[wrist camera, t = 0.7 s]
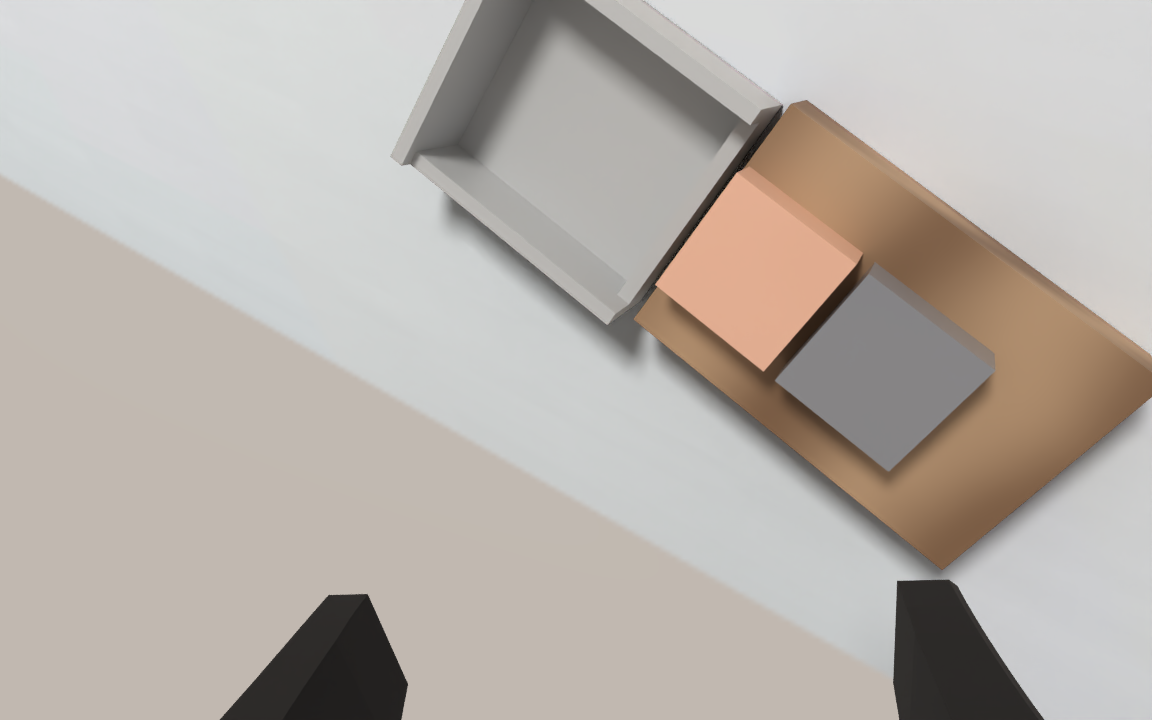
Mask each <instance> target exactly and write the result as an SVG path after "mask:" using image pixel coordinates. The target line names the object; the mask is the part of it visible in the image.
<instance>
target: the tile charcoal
mask: <svg viewBox="0 0 1152 720" xmlns="http://www.w3.org/2000/svg"><path fill="white" fill-rule="evenodd" d="M995 371H996V369H995V353H994V352H992V351H991V350H990V349H988V348H987V347H986V346H984V345H983V344H982V343H980V342H979V341H978V340H977V339H975V338H974V337H973V336H971V335H970V334H969V333H967V332H966V331H965V330H963V329H962V328H961V327H959V326H958V325H957V324H956V323H954V322H953V321H952V320H950V319H949V318H948V317H946V316H945V315H944V314H942V313H941V312H940V311H939V310H937V309H936V308H935V307H933V306H932V305H931V304H929V303H928V302H927V301H925V300H924V299H923V298H921V297H920V296H919V295H918V294H916V293H915V292H914V291H912V290H911V289H910V288H908V287H907V286H906V285H904V284H903V283H902V282H900V281H899V280H898V279H897V278H895V277H894V276H893V275H891V274H890V273H889V272H887V271H886V270H885V269H883V268H882V267H881V266H880V265H878V264H877V263H876V262H875V263H874V264H873V265H872V266H871V267H870V268H869V269H868V270H867V272H866V273H865V274H864V275H863V276H862V277H861V278H860V280H859V281H858V282H857V283H856V284H855V285H854V286H853V287H852V289H851V290H850V291H849V292H848V293H847V294H846V295H845V297H844V298H843V299H842V300H841V301H840V302H839V303H838V305H837V306H836V307H835V308H834V309H833V310H832V311H831V312H830V314H829V315H828V316H827V317H826V318H825V319H824V320H823V322H822V323H821V324H820V325H819V326H818V327H817V328H816V329H815V331H814V332H813V333H812V334H811V335H810V336H809V337H808V339H807V340H806V341H805V342H804V343H803V344H802V345H801V347H800V348H799V349H798V350H797V351H796V352H795V353H794V354H793V356H792V357H791V358H790V359H789V360H788V361H787V362H786V364H785V365H784V366H783V368H782V370H781V371H780V373H779V374H778V376H777V378H776V379H775V381H776V382H777V383H778V384H779V385H781V386H782V387H783V388H784V389H786V390H787V391H788V392H789V393H791V394H792V395H793V396H794V397H796V398H797V399H798V400H799V401H801V402H802V403H803V404H804V405H806V406H807V407H808V408H809V409H811V410H812V411H813V412H814V413H816V414H817V415H818V416H819V417H821V418H822V419H823V420H824V421H826V422H827V423H828V424H829V425H831V426H832V427H833V428H834V429H836V430H837V431H838V432H839V433H841V434H842V435H843V436H844V437H846V438H847V439H848V440H849V441H851V442H852V443H853V444H854V445H856V446H857V447H858V448H859V449H861V450H862V451H863V452H864V453H866V454H867V455H868V456H869V457H871V458H872V459H873V460H874V461H876V462H877V463H878V464H879V465H881V466H882V467H883V468H884V469H886V470H887V471H888V472H889V471H890V470H891V469H892V468H893V467H894V466H895V465H896V464H897V463H899V462H900V461H901V460H902V459H903V458H904V457H905V456H906V455H907V454H908V453H909V452H910V451H911V450H912V449H913V448H914V447H915V446H916V445H918V444H919V443H920V442H921V441H922V440H923V439H924V438H925V437H926V436H927V435H928V434H929V433H930V432H931V431H932V430H933V429H934V428H936V427H937V426H938V425H939V424H940V423H941V422H942V421H943V420H944V419H945V418H946V417H947V416H948V415H949V414H950V413H951V412H952V411H953V410H955V409H956V408H957V407H958V406H959V405H960V404H961V403H962V402H963V401H964V400H965V399H966V398H967V397H968V396H969V395H970V394H971V393H973V392H974V391H975V390H976V389H977V388H978V387H979V386H980V385H981V384H982V383H983V382H984V381H985V380H986V379H987V378H988V377H989V376H991V375H992V374H993V373H994V372H995Z"/></svg>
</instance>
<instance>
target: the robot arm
mask: <svg viewBox="0 0 1152 720" xmlns="http://www.w3.org/2000/svg"><path fill="white" fill-rule="evenodd" d="M893 684H894V690H895V696H896V702H897V708H898V714H899V720H1044V719H1043V717H1042V716H1041V715H1040V713H1039V712H1038V711H1037V709H1036V708H1035V706H1034V705H1033V704H1032V702H1031V701H1030V700H1029V698H1028V697H1027V695H1026V694H1025V692H1024V691H1023V690H1022V688H1021V687H1020V685H1019V684H1018V682H1017V681H1016V680H1015V678H1014V677H1013V675H1012V674H1011V672H1010V671H1009V669H1008V668H1007V666H1006V665H1005V663H1004V662H1003V660H1002V659H1001V657H1000V656H999V654H998V653H997V651H996V650H995V648H994V647H993V645H992V643H991V642H990V640H989V639H988V637H987V636H986V634H985V632H984V631H983V629H982V628H981V626H980V624H979V623H978V621H977V619H976V618H975V616H974V614H973V613H972V611H971V609H970V608H969V606H968V604H967V603H966V601H965V599H964V597H963V595H962V594H961V592H960V590H959V588H958V586H957V585H955V584H954V583H953V582H951V581H950V580H917V581H897V601H896V627H895V653H894V679H893ZM407 686H408V683H407V681H406V679H405V677H404V674H403V672H402V670H401V668H400V665H399V663H398V661H397V659H396V656H395V654H394V652H393V650H392V648H391V645H390V643H389V641H388V639H387V636H386V634H385V632H384V630H383V628H382V625H381V623H380V621H379V618H378V616H377V614H376V612H375V610H374V607H373V605H372V603H371V601H370V598H369V596H368V595H367V594H358V595H357V594H356V595H328V597H327V598H326V599H325V600H324V601H323V602H322V603H321V604H320V606H319V607H318V608H317V609H316V610H315V611H314V612H313V614H312V615H311V616H310V617H309V618H308V620H307V621H306V622H305V623H304V624H303V625H302V626H301V627H300V629H299V630H298V631H297V632H296V633H295V634H294V635H293V637H292V638H291V639H290V640H289V641H288V643H287V644H286V645H285V646H284V647H283V649H282V650H281V651H280V652H279V653H278V654H277V655H276V656H275V658H274V659H273V660H272V661H271V662H270V663H269V665H268V666H267V667H266V668H265V669H264V670H263V671H262V673H261V674H260V675H259V676H258V677H257V678H256V680H255V681H254V682H253V683H252V684H251V685H250V686H249V687H248V689H247V690H246V691H245V692H244V693H243V694H242V696H240V698H239V699H238V700H237V701H236V702H235V703H234V704H233V706H232V707H231V708H230V709H229V710H228V711H227V712H226V713H225V714H224V716H223V717H222V718H221V719H220V720H401V718H402V713H403V707H404V702H405V697H406V692H407Z"/></svg>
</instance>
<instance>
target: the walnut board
mask: <svg viewBox="0 0 1152 720" xmlns="http://www.w3.org/2000/svg"><path fill="white" fill-rule="evenodd" d="M749 166H750V167H751V168H752V169H754V170H755V171H756V172H758V173H759V174H760V175H761V176H763V177H764V178H765V179H767V180H768V181H769V182H771V183H772V184H773V185H775V186H776V187H777V188H779V189H780V190H781V191H782V192H784V193H785V194H786V195H788V196H789V197H790V198H792V199H793V200H794V201H796V202H797V203H798V204H800V205H801V206H802V207H803V208H805V209H806V210H807V211H809V212H810V213H811V214H813V215H814V216H815V217H817V218H818V219H819V220H820V221H822V222H823V223H824V224H826V225H827V226H828V227H830V228H831V229H832V230H834V231H835V232H836V233H838V234H839V235H840V236H841V237H843V238H844V239H845V240H847V241H848V242H849V243H851V244H852V245H853V246H855V247H856V248H857V249H859V250H860V251H861V252H862V253H863V254H862V256H861V258H860V260H859V261H858V263H857V265H856V266H855V267H854V268H853V269H852V270H851V272H850V273H849V274H848V275H847V276H846V277H845V278H844V280H843V281H842V282H841V283H840V284H839V285H838V287H837V288H836V289H835V290H834V291H833V292H832V293H831V295H830V296H829V297H828V298H827V299H826V300H825V301H824V303H823V304H822V305H821V306H820V307H819V308H818V310H817V311H816V312H815V313H814V314H813V315H812V316H811V318H810V319H809V320H808V321H807V322H806V323H805V325H804V326H803V327H802V328H801V329H800V330H799V331H798V333H797V334H796V335H795V336H794V337H793V338H792V339H791V341H790V342H789V343H788V344H787V345H786V346H785V348H784V349H783V350H782V351H781V352H780V353H779V354H778V356H777V357H776V358H775V359H774V360H773V361H772V362H771V364H770V365H769V366H768V367H767V368H766V369H765V371H764V372H763V371H762V370H761V369H760V368H758V367H757V366H756V365H755V364H753V363H752V362H751V361H750V360H748V359H747V358H746V357H745V356H743V355H742V354H741V353H740V352H738V351H737V350H736V349H735V348H733V347H732V346H731V345H730V344H728V343H727V342H726V341H725V340H723V339H722V338H721V337H720V336H718V335H717V334H716V333H715V332H713V331H712V330H711V329H710V328H708V327H707V326H706V325H705V324H703V323H702V322H701V321H700V320H698V319H697V318H696V317H695V316H693V315H692V314H691V313H690V312H688V311H687V310H686V309H685V308H683V307H682V306H681V305H680V304H678V303H677V302H676V301H675V300H673V299H672V298H671V297H670V296H668V295H667V294H666V293H665V292H663V291H662V290H661V289H660V288H658V287H657V288H656V289H655V291H654V292H653V293H652V295H651V296H650V297H649V299H648V300H647V301H646V303H645V304H644V306H643V307H642V308H641V310H640V311H639V312H638V314H637V315H636V317H635V318H634V320H635V321H636V322H637V323H638V324H640V325H641V326H642V327H643V328H645V329H646V330H647V331H648V332H650V333H651V334H652V335H653V336H654V337H656V338H657V339H658V340H659V341H661V342H662V343H663V344H664V345H666V346H667V347H668V348H669V349H670V350H672V351H673V352H674V353H675V354H677V355H678V356H679V357H680V358H682V359H683V360H684V361H685V362H686V363H688V364H689V365H690V366H691V367H693V368H694V369H695V370H696V371H698V372H699V373H700V374H701V375H703V376H704V377H705V378H706V379H707V380H709V381H710V382H711V383H712V384H714V385H715V386H716V387H717V388H719V389H720V390H721V391H722V392H723V393H725V394H726V395H727V396H728V397H730V398H731V399H732V400H733V401H735V402H736V403H737V404H738V405H739V406H741V407H742V408H743V409H744V410H746V411H747V412H748V413H749V414H751V415H752V416H753V417H754V418H755V419H757V420H758V421H759V422H760V423H762V424H763V425H764V426H765V427H767V428H768V429H769V430H770V431H771V432H773V433H774V434H775V435H776V436H778V437H779V438H780V439H781V440H783V441H784V442H785V443H786V444H787V445H789V446H790V447H791V448H792V449H794V450H795V451H796V452H797V453H799V454H800V455H801V456H802V457H803V458H805V459H806V460H807V461H808V462H810V463H811V464H812V465H813V466H815V467H816V468H817V469H818V470H819V471H821V472H822V473H823V474H824V475H826V476H827V477H828V478H829V479H831V480H832V481H833V482H834V483H835V484H837V485H838V486H839V487H840V488H842V489H843V490H844V491H845V492H847V493H848V494H849V495H850V496H851V497H853V498H854V499H855V500H856V501H858V502H859V503H860V504H861V505H863V506H864V507H865V508H866V509H867V510H869V511H870V512H871V513H872V514H874V515H875V516H876V517H877V518H879V519H880V520H881V521H882V522H883V523H885V524H886V525H887V526H888V527H890V528H891V529H892V530H893V531H895V532H896V533H897V534H898V535H899V536H901V537H902V538H903V539H904V540H906V541H907V542H908V543H909V544H911V545H912V546H913V547H914V548H915V549H917V550H918V551H919V552H920V553H922V554H923V555H924V556H925V557H927V558H928V559H929V560H930V561H931V562H933V563H934V564H935V565H936V566H938V567H939V568H940V569H941V570H943V569H944V568H945V567H946V566H948V565H949V564H950V563H951V562H953V561H954V560H955V559H956V558H957V557H959V556H960V555H961V554H962V553H963V552H965V551H966V550H967V549H968V548H969V547H971V546H972V545H973V544H974V543H976V542H977V541H978V540H979V539H980V538H982V537H983V536H984V535H985V534H986V533H988V532H989V531H990V530H991V529H992V528H994V527H995V526H996V525H997V524H999V523H1000V522H1001V521H1002V520H1003V519H1005V518H1006V517H1007V516H1008V515H1009V514H1011V513H1012V512H1013V511H1014V510H1015V509H1017V508H1018V507H1019V506H1020V505H1022V504H1023V503H1024V502H1025V501H1026V500H1028V499H1029V498H1030V497H1031V496H1032V495H1034V494H1035V493H1036V492H1037V491H1038V490H1040V489H1041V488H1042V487H1043V486H1045V485H1046V484H1047V483H1048V482H1049V481H1051V480H1052V479H1053V478H1054V477H1055V476H1057V475H1058V474H1059V473H1060V472H1061V471H1063V470H1064V469H1065V468H1066V467H1068V466H1069V465H1070V464H1071V463H1072V462H1074V461H1075V460H1076V459H1077V458H1078V457H1080V456H1081V455H1082V454H1083V453H1084V452H1086V451H1087V450H1088V449H1089V448H1091V447H1092V446H1093V445H1094V444H1095V443H1097V442H1098V441H1099V440H1100V439H1101V438H1103V437H1104V436H1105V435H1106V434H1108V433H1109V432H1110V431H1111V430H1112V429H1114V428H1115V427H1116V426H1117V425H1118V424H1120V423H1121V422H1122V421H1123V420H1124V419H1126V418H1127V417H1128V416H1129V415H1131V414H1132V413H1133V412H1134V411H1135V410H1137V409H1138V408H1139V407H1140V406H1141V405H1143V404H1144V403H1145V402H1146V401H1147V400H1149V399H1150V398H1151V397H1152V357H1151V355H1150V354H1149V353H1147V352H1146V351H1145V350H1143V349H1142V348H1141V347H1139V346H1138V345H1137V344H1135V343H1134V342H1133V341H1131V340H1130V339H1128V338H1127V337H1126V336H1124V335H1123V334H1122V333H1120V332H1119V331H1118V330H1116V329H1115V328H1114V327H1112V326H1111V325H1110V324H1108V323H1107V322H1106V321H1104V320H1103V319H1101V318H1100V317H1099V316H1097V315H1096V314H1095V313H1093V312H1092V311H1091V310H1089V309H1088V308H1087V307H1085V306H1084V305H1083V304H1081V303H1080V302H1079V301H1077V300H1076V299H1074V298H1073V297H1072V296H1070V295H1069V294H1068V293H1066V292H1065V291H1064V290H1062V289H1061V288H1060V287H1058V286H1057V285H1056V284H1054V283H1053V282H1052V281H1050V280H1049V279H1047V278H1046V277H1045V276H1043V275H1042V274H1041V273H1039V272H1038V271H1037V270H1035V269H1034V268H1033V267H1031V266H1030V265H1029V264H1027V263H1026V262H1025V261H1023V260H1022V259H1020V258H1019V257H1018V256H1016V255H1015V254H1014V253H1012V252H1011V251H1010V250H1008V249H1007V248H1006V247H1004V246H1003V245H1002V244H1000V243H999V242H998V241H996V240H995V239H993V238H992V237H991V236H989V235H988V234H987V233H985V232H984V231H983V230H981V229H980V228H979V227H977V226H976V225H975V224H973V223H972V222H971V221H969V220H968V219H966V218H965V217H964V216H962V215H961V214H960V213H958V212H957V211H956V210H954V209H953V208H952V207H950V206H949V205H948V204H946V203H945V202H944V201H942V200H941V199H940V198H938V197H937V196H935V195H934V194H933V193H931V192H930V191H929V190H927V189H926V188H925V187H923V186H922V185H921V184H919V183H918V182H917V181H915V180H914V179H913V178H911V177H910V176H908V175H907V174H906V173H904V172H903V171H902V170H900V169H899V168H898V167H896V166H895V165H894V164H892V163H891V162H890V161H888V160H887V159H886V158H884V157H883V156H881V155H880V154H879V153H877V152H876V151H875V150H873V149H872V148H871V147H869V146H868V145H867V144H865V143H864V142H863V141H861V140H860V139H859V138H857V137H856V136H854V135H853V134H852V133H850V132H849V131H848V130H846V129H845V128H844V127H842V126H841V125H840V124H838V123H837V122H836V121H834V120H833V119H832V118H830V117H829V116H827V115H826V114H825V113H823V112H822V111H821V110H819V109H818V108H817V107H815V106H814V105H813V104H811V103H810V102H809V101H807V100H805V101H801V102H797V103H793V104H791V105H790V106H789V107H788V109H787V110H786V111H785V113H784V114H783V116H782V117H781V118H780V120H779V121H778V122H777V124H776V125H775V126H774V128H773V129H772V131H771V132H770V133H769V135H768V136H767V137H766V139H765V140H764V141H763V143H762V144H761V146H760V147H759V148H758V150H757V151H756V152H755V154H754V155H753V157H752V158H751V159H750V161H749V162H748V163H747V165H746V166H745V167H744V169H745V168H747V167H749ZM875 262H876V263H877V264H878V265H880V266H881V267H882V268H883V269H885V270H886V271H887V272H889V273H890V274H891V275H893V276H894V277H895V278H897V279H898V280H899V281H900V282H902V283H903V284H904V285H906V286H907V287H908V288H910V289H911V290H912V291H914V292H915V293H916V294H918V295H919V296H920V297H921V298H923V299H924V300H925V301H927V302H928V303H929V304H931V305H932V306H933V307H935V308H936V309H937V310H939V311H940V312H941V313H942V314H944V315H945V316H946V317H948V318H949V319H950V320H952V321H953V322H954V323H956V324H957V325H958V326H959V327H961V328H962V329H963V330H965V331H966V332H967V333H969V334H970V335H971V336H973V337H974V338H975V339H977V340H978V341H979V342H980V343H982V344H983V345H984V346H986V347H987V348H988V349H990V350H991V351H992V352H994V353H995V369H996V371H995V372H994V373H993V374H992V375H991V376H989V377H988V378H987V379H986V380H985V381H984V382H983V383H982V384H981V385H980V386H979V387H978V388H977V389H976V390H975V391H974V392H973V393H971V394H970V395H969V396H968V397H967V398H966V399H965V400H964V401H963V402H962V403H961V404H960V405H959V406H958V407H957V408H956V409H955V410H953V411H952V412H951V413H950V414H949V415H948V416H947V417H946V418H945V419H944V420H943V421H942V422H941V423H940V424H939V425H938V426H937V427H936V428H934V429H933V430H932V431H931V432H930V433H929V434H928V435H927V436H926V437H925V438H924V439H923V440H922V441H921V442H920V443H919V444H918V445H916V446H915V447H914V448H913V449H912V450H911V451H910V452H909V453H908V454H907V455H906V456H905V457H904V458H903V459H902V460H901V461H900V462H899V463H897V464H896V465H895V466H894V467H893V468H892V469H891V470H890V471H889V472H888V471H887V470H886V469H884V468H883V467H882V466H881V465H879V464H878V463H877V462H876V461H874V460H873V459H872V458H871V457H869V456H868V455H867V454H866V453H864V452H863V451H862V450H861V449H859V448H858V447H857V446H856V445H854V444H853V443H852V442H851V441H849V440H848V439H847V438H846V437H844V436H843V435H842V434H841V433H839V432H838V431H837V430H836V429H834V428H833V427H832V426H831V425H829V424H828V423H827V422H826V421H824V420H823V419H822V418H821V417H819V416H818V415H817V414H816V413H814V412H813V411H812V410H811V409H809V408H808V407H807V406H806V405H804V404H803V403H802V402H801V401H799V400H798V399H797V398H796V397H794V396H793V395H792V394H791V393H789V392H788V391H787V390H786V389H784V388H783V387H782V386H781V385H779V384H778V383H777V382H776V381H775V379H776V378H777V376H778V374H779V373H780V371H781V370H782V368H783V366H784V365H785V364H786V362H787V361H788V360H789V359H790V358H791V357H792V356H793V354H794V353H795V352H796V351H797V350H798V349H799V348H800V347H801V345H802V344H803V343H804V342H805V341H806V340H807V339H808V337H809V336H810V335H811V334H812V333H813V332H814V331H815V329H816V328H817V327H818V326H819V325H820V324H821V323H822V322H823V320H824V319H825V318H826V317H827V316H828V315H829V314H830V312H831V311H832V310H833V309H834V308H835V307H836V306H837V305H838V303H839V302H840V301H841V300H842V299H843V298H844V297H845V295H846V294H847V293H848V292H849V291H850V290H851V289H852V287H853V286H854V285H855V284H856V283H857V282H858V281H859V280H860V278H861V277H862V276H863V275H864V274H865V273H866V272H867V270H868V269H869V268H870V267H871V266H872V265H873V264H874V263H875Z"/></svg>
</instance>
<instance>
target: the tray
mask: <svg viewBox="0 0 1152 720" xmlns="http://www.w3.org/2000/svg"><path fill="white" fill-rule="evenodd" d="M782 105H783V104H781V103H780V102H779V101H777V100H776V99H775V98H773V97H772V96H771V95H769V94H768V93H767V92H765V91H764V90H763V89H761V88H760V87H759V86H757V85H756V84H755V83H753V82H752V81H751V80H749V79H748V78H747V77H745V76H744V75H743V74H741V73H740V72H739V71H737V70H736V69H735V68H733V67H732V66H730V65H729V64H728V63H726V62H725V61H724V60H722V59H721V58H720V57H718V56H717V55H716V54H714V53H713V52H712V51H710V50H709V49H708V48H706V47H705V46H704V45H702V44H701V43H700V42H698V41H697V40H696V39H694V38H693V37H692V36H690V35H689V34H688V33H686V32H685V31H684V30H682V29H681V28H679V27H678V26H677V25H675V24H674V23H673V22H671V21H670V20H669V19H667V18H666V17H665V16H663V15H662V14H661V13H659V12H658V11H657V10H655V9H654V8H653V7H651V6H650V5H649V4H647V3H646V2H645V1H643V0H465V2H464V4H463V6H462V8H461V10H460V12H459V14H458V16H457V18H456V20H455V23H454V25H453V27H452V29H451V31H450V33H449V35H448V37H447V39H446V41H445V43H444V45H443V48H442V50H441V52H440V54H439V56H438V58H437V60H436V62H435V64H434V66H433V68H432V70H431V73H430V75H429V77H428V79H427V81H426V83H425V85H424V87H423V89H422V91H421V93H420V96H419V98H418V100H417V102H416V104H415V106H414V108H413V110H412V112H411V114H410V116H409V118H408V121H407V123H406V125H405V127H404V129H403V131H402V133H401V135H400V137H399V139H398V141H397V143H396V146H395V148H394V150H393V152H392V154H391V156H390V157H391V158H393V159H394V160H395V161H396V162H398V163H399V164H400V165H401V166H403V165H408V164H411V165H412V166H413V167H414V168H416V169H417V170H418V171H419V172H421V173H422V174H423V175H424V176H425V177H427V178H428V179H429V180H430V181H432V182H433V183H434V184H435V185H436V186H438V187H439V188H440V189H441V190H443V191H444V192H445V193H446V194H447V195H449V196H450V197H451V198H452V199H454V200H455V201H456V202H457V203H458V204H460V205H461V206H462V207H463V208H465V209H466V210H467V211H468V212H470V213H471V214H472V215H473V216H474V217H476V218H477V219H478V220H479V221H481V222H482V223H483V224H484V225H485V226H487V227H488V228H489V229H490V230H492V231H493V232H494V233H495V234H496V235H498V236H499V237H500V238H501V239H503V240H504V241H505V242H506V243H507V244H509V245H510V246H511V247H512V248H514V249H515V250H516V251H517V252H518V253H520V254H521V255H522V256H523V257H525V258H526V259H527V260H528V261H529V262H531V263H532V264H533V265H534V266H536V267H537V268H538V269H539V270H540V271H542V272H543V273H544V274H545V275H547V276H548V277H549V278H550V279H551V280H553V281H554V282H555V283H556V284H558V285H559V286H560V287H561V288H562V289H564V290H565V291H566V292H567V293H569V294H570V295H571V296H572V297H573V298H575V299H576V300H577V301H578V302H580V303H581V304H582V305H583V306H584V307H586V308H587V309H588V310H589V311H591V312H592V313H593V314H594V315H595V316H597V317H598V318H599V319H600V320H602V321H603V322H604V323H605V324H606V325H608V324H610V323H611V322H612V321H614V320H615V319H617V318H618V317H619V316H621V315H622V314H624V313H625V312H626V311H628V310H629V309H631V308H632V307H633V306H635V305H636V304H637V303H639V302H640V301H641V299H642V298H643V297H644V295H645V294H646V292H647V291H648V290H649V288H650V287H651V286H652V284H653V283H654V281H655V280H656V279H657V277H658V276H659V275H660V273H661V272H662V270H663V269H664V268H665V266H666V265H667V263H668V262H669V261H670V259H671V258H672V257H673V255H674V254H675V252H676V251H677V250H678V248H679V247H680V246H681V244H682V243H683V241H684V240H685V239H686V237H687V236H688V235H689V233H690V232H691V230H692V229H693V228H694V226H695V225H696V224H697V222H698V221H699V219H700V218H701V217H702V215H703V214H704V213H705V211H706V210H707V208H708V207H709V206H710V204H711V203H712V202H713V200H714V199H715V197H716V196H717V195H718V193H719V192H720V191H721V189H722V188H723V186H724V185H725V184H726V182H727V181H728V180H729V178H730V177H731V175H732V174H733V173H734V171H735V170H736V168H737V167H738V166H739V164H740V163H741V162H742V160H743V159H744V157H745V156H746V155H747V153H748V152H749V151H750V149H751V148H752V146H753V145H754V144H755V142H756V141H757V140H758V138H759V137H760V135H761V134H762V133H763V131H764V130H765V129H766V127H767V126H768V124H769V123H770V122H771V120H772V119H773V118H774V116H775V115H776V113H777V112H778V111H779V109H780V108H781V107H782Z"/></svg>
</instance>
